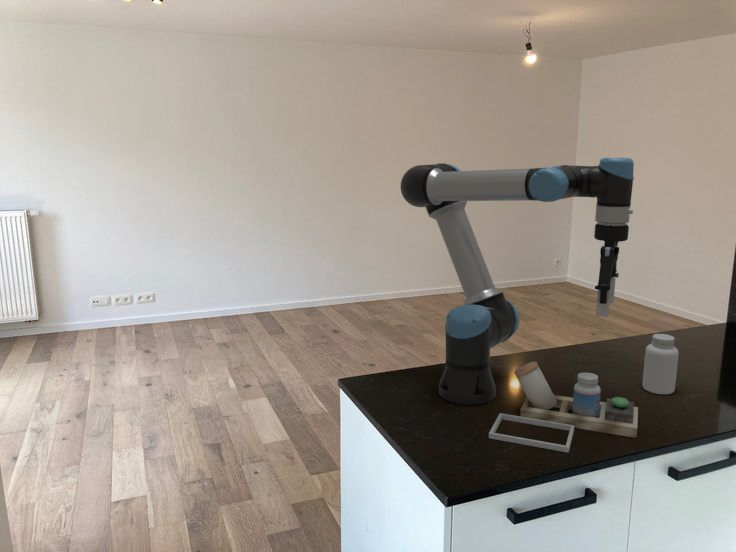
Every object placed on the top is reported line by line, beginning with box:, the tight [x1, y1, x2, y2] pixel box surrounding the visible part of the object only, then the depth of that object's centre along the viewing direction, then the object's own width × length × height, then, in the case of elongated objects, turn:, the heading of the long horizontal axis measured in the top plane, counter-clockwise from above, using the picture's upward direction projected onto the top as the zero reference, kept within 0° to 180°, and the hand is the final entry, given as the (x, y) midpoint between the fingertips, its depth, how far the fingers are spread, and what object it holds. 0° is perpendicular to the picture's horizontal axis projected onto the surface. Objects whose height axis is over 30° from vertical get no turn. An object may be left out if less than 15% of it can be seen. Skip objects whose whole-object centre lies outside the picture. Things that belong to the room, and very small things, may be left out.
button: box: [611, 396, 629, 409], centre depth 140 cm, size 4×4×3 cm
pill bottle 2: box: [642, 333, 680, 395], centre depth 158 cm, size 8×8×15 cm
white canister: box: [514, 361, 557, 410], centre depth 148 cm, size 6×6×11 cm
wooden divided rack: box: [519, 394, 639, 439], centre depth 144 cm, size 26×12×4 cm, turn 65°
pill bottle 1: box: [572, 372, 602, 418], centre depth 142 cm, size 6×6×11 cm
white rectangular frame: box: [488, 412, 575, 453], centre depth 136 cm, size 17×11×1 cm, turn 65°
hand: (605, 309), depth 146 cm, fingers open, 13 cm apart
